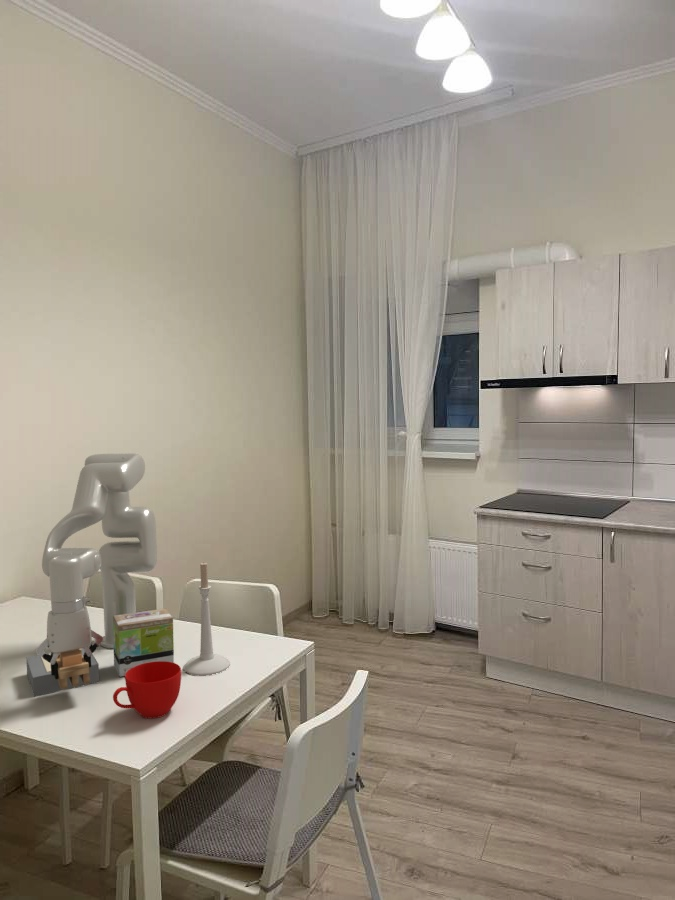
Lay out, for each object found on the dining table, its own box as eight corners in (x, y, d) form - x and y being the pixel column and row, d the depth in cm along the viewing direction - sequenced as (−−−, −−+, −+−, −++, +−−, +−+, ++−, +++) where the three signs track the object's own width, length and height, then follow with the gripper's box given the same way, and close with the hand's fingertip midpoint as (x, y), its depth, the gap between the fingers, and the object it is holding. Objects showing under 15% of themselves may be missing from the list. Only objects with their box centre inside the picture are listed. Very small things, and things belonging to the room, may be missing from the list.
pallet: (81, 666, 171) (80, 648, 171) (89, 682, 162) (88, 663, 162) (54, 672, 168) (53, 654, 168) (61, 689, 159) (60, 669, 158)
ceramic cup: (100, 719, 154) (98, 678, 153) (162, 695, 166) (161, 656, 166) (130, 737, 145) (128, 694, 144) (193, 710, 158) (191, 670, 157)
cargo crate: (78, 657, 168) (77, 647, 168) (82, 664, 164) (81, 654, 163) (60, 661, 166) (59, 651, 165) (63, 668, 161) (62, 658, 161)
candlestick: (184, 678, 176) (181, 569, 174) (183, 660, 189) (179, 558, 186) (232, 672, 180) (229, 565, 178) (227, 655, 192) (224, 555, 190)
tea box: (119, 678, 177) (117, 625, 176) (113, 665, 186) (111, 614, 185) (175, 667, 184) (173, 616, 183) (166, 655, 193) (165, 606, 192)
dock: (88, 662, 188) (87, 644, 188) (99, 682, 175) (98, 663, 174) (27, 674, 180) (26, 656, 180) (33, 696, 167) (32, 676, 166)
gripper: (100, 595, 171) (104, 660, 173) (28, 607, 162) (32, 676, 164) (106, 602, 164) (110, 671, 166) (31, 616, 156) (36, 688, 157)
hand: (71, 673), depth 165 cm, fingers closed on pallet, 6 cm apart
